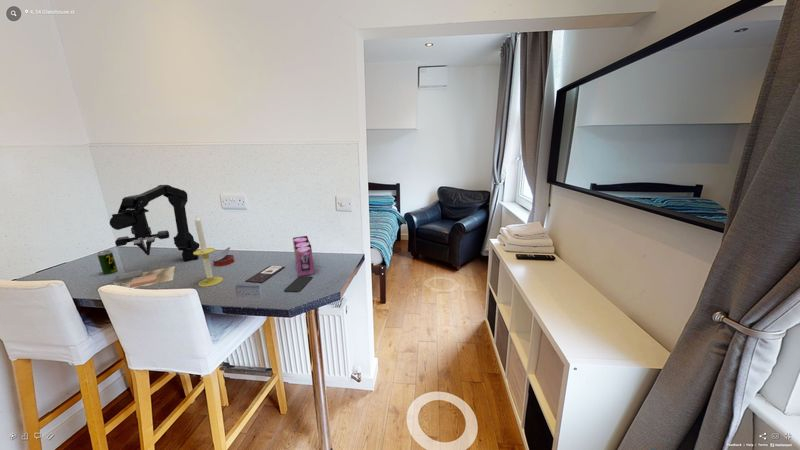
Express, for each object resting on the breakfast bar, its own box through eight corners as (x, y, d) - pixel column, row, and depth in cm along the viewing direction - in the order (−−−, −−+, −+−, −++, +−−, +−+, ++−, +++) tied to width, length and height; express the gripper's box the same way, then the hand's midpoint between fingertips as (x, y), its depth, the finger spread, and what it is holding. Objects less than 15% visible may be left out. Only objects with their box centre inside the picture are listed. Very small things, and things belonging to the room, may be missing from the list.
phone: (313, 276, 137) (299, 291, 122) (313, 278, 137) (299, 293, 122) (298, 276, 137) (282, 290, 123) (299, 277, 138) (283, 292, 123)
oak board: (175, 266, 154) (175, 266, 154) (172, 280, 137) (172, 280, 137) (117, 278, 141) (117, 277, 141) (106, 295, 124) (106, 294, 124)
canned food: (230, 272, 156) (224, 260, 149) (212, 271, 156) (205, 259, 149) (240, 256, 164) (234, 245, 157) (223, 255, 164) (216, 243, 158)
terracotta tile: (157, 273, 140) (133, 278, 135) (155, 279, 134) (129, 284, 129) (158, 276, 141) (134, 281, 136) (156, 282, 134) (131, 288, 129)
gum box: (315, 275, 139) (312, 248, 136) (298, 278, 136) (294, 251, 133) (310, 258, 160) (307, 235, 157) (295, 261, 158) (292, 237, 154)
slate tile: (142, 269, 145) (118, 274, 140) (139, 275, 139) (114, 280, 134) (143, 273, 146) (119, 277, 141) (140, 278, 139) (115, 283, 134)
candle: (207, 277, 140) (193, 212, 131) (227, 277, 139) (214, 211, 131) (192, 287, 130) (176, 217, 121) (214, 286, 129) (199, 216, 121)
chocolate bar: (245, 280, 133) (269, 265, 150) (245, 282, 134) (269, 267, 151) (262, 282, 132) (284, 266, 149) (262, 284, 132) (285, 268, 149)
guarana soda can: (100, 276, 144) (93, 254, 141) (108, 272, 149) (101, 250, 146) (113, 275, 145) (106, 252, 142) (120, 270, 150) (114, 249, 147)
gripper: (166, 217, 144) (173, 246, 148) (115, 223, 134) (125, 254, 138) (164, 221, 135) (172, 252, 140) (110, 228, 125) (120, 261, 129)
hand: (148, 255), depth 137 cm, fingers closed
